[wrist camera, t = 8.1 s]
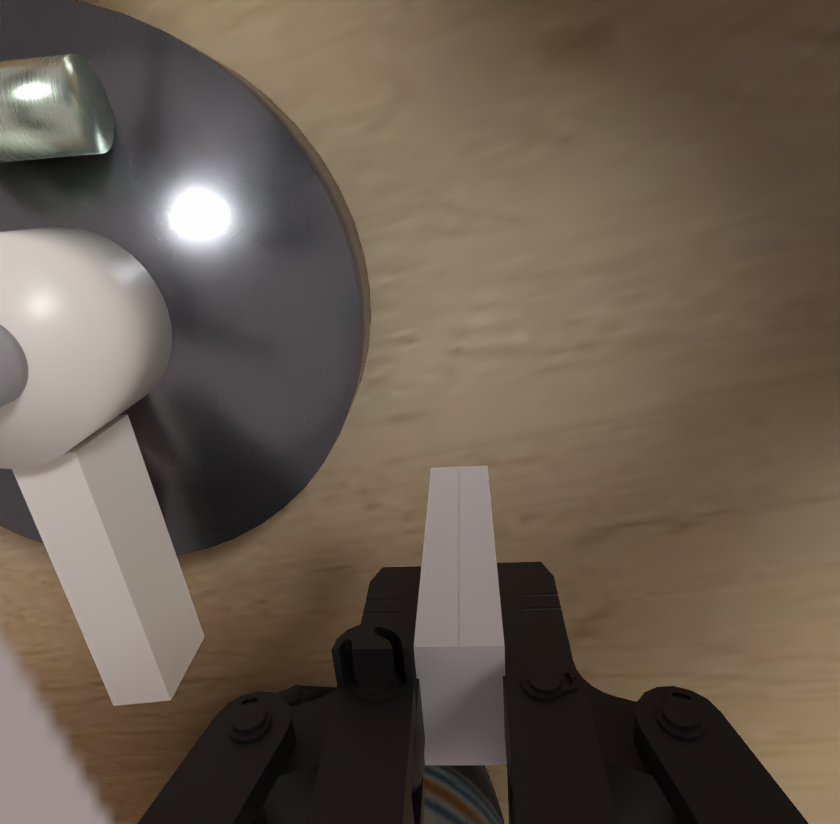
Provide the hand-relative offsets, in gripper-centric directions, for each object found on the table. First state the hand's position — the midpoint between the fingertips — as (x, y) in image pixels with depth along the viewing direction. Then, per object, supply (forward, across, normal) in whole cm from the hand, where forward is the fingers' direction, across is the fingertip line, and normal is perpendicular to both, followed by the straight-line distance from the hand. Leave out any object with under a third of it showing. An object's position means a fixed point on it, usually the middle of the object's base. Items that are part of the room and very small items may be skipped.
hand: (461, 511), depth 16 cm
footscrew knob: (+4, -12, 0) cm, 12 cm away
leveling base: (+7, -12, +5) cm, 15 cm away
